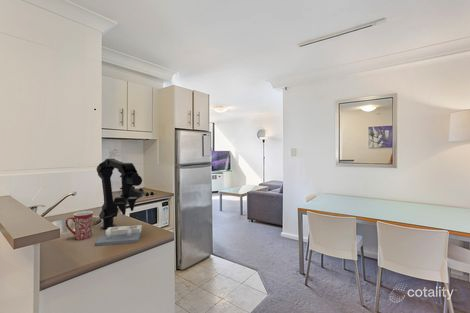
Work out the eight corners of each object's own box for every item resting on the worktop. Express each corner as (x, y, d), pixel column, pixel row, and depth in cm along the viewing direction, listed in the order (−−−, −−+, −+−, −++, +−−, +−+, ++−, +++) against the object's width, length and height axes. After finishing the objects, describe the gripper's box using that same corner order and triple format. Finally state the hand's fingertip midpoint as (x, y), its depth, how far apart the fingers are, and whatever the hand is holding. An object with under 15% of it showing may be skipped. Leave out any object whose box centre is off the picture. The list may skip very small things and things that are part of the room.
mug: (94, 233, 130) (94, 210, 130) (91, 239, 121) (91, 214, 121) (68, 236, 125) (68, 212, 125) (63, 242, 117) (62, 216, 116)
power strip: (108, 232, 131) (108, 227, 131) (141, 230, 136) (141, 225, 136) (105, 236, 125) (105, 231, 125) (139, 233, 129) (139, 228, 129)
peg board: (101, 238, 122) (101, 228, 122) (140, 235, 127) (140, 225, 127) (94, 246, 112) (94, 235, 112) (137, 242, 117) (137, 231, 117)
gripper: (133, 186, 118) (134, 216, 118) (148, 182, 136) (148, 208, 136) (112, 187, 118) (113, 217, 118) (129, 183, 137) (130, 209, 136)
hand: (128, 212), depth 127 cm, fingers open, 9 cm apart
